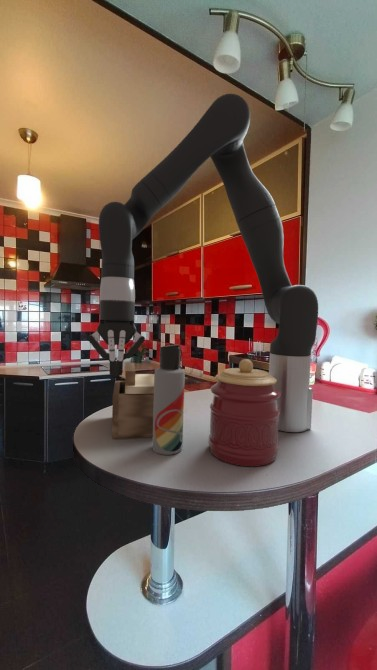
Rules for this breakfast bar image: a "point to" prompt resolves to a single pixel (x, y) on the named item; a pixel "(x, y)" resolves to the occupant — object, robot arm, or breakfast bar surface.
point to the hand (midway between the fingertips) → (116, 377)
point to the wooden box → (131, 414)
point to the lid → (138, 381)
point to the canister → (244, 416)
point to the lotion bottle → (168, 402)
